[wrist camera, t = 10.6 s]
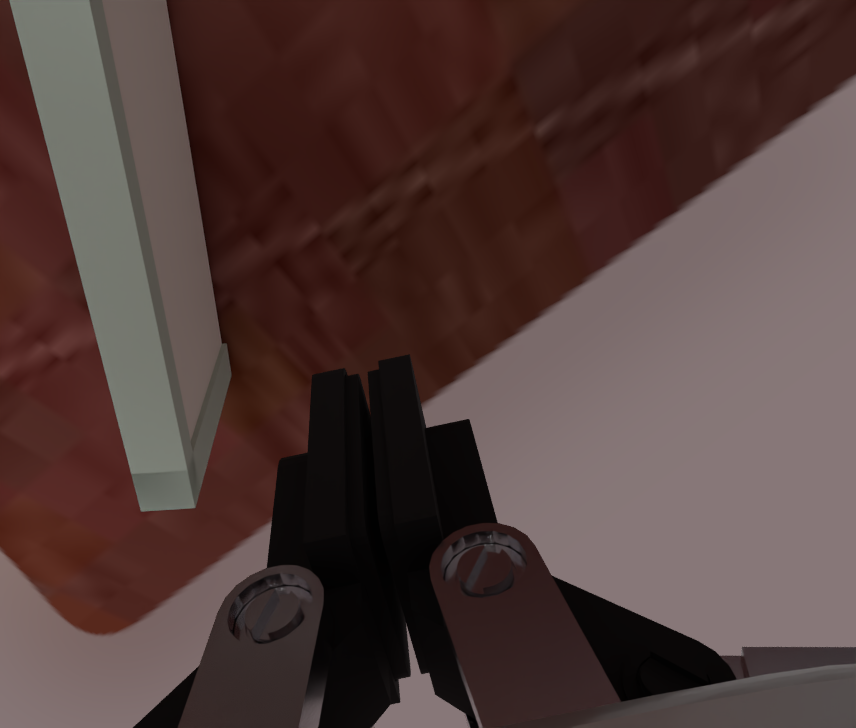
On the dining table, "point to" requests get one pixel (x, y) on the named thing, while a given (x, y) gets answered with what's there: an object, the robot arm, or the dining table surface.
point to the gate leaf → (133, 227)
